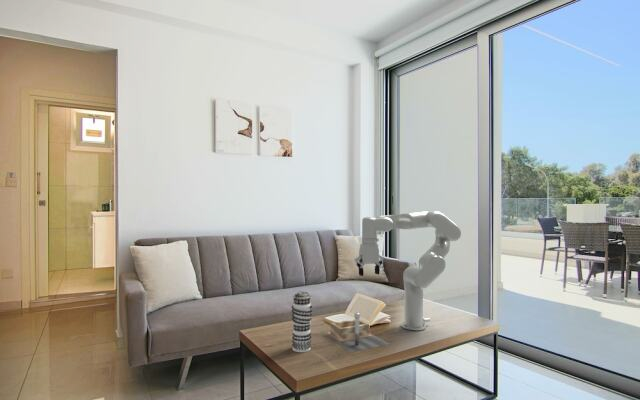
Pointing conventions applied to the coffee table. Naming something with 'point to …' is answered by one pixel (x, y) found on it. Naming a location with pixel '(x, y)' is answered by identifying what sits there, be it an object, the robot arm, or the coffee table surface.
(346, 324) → the open wooden box
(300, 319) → the decorative candle
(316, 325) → the coffee table surface
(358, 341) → the pin stand
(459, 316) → the coffee table surface
